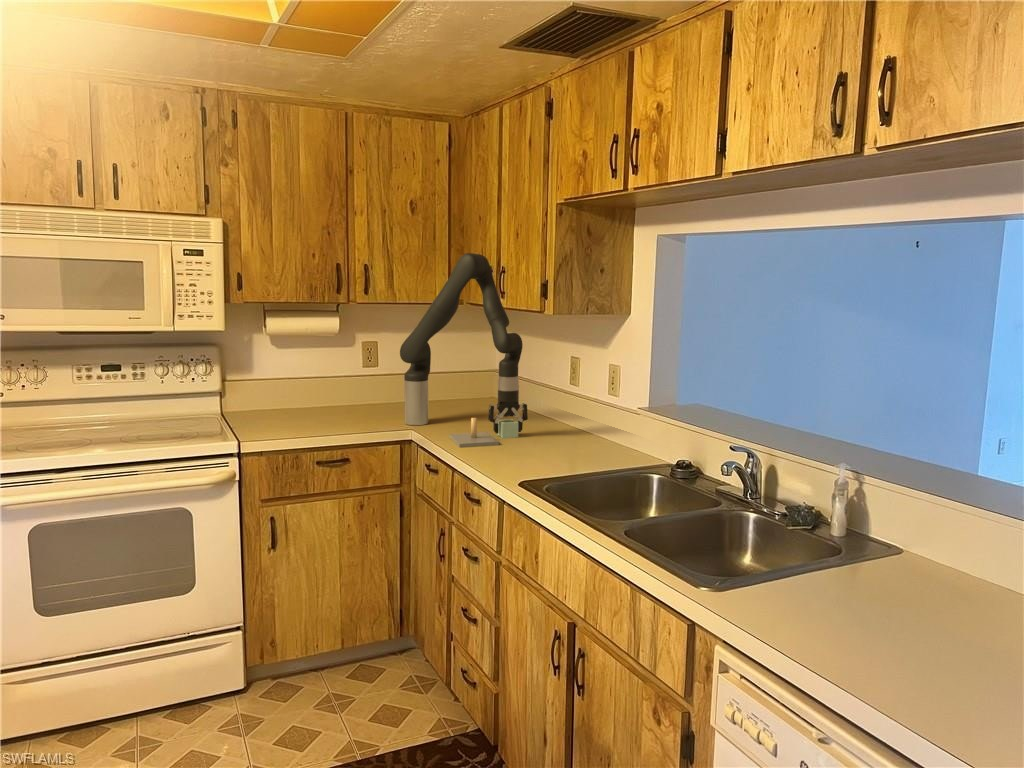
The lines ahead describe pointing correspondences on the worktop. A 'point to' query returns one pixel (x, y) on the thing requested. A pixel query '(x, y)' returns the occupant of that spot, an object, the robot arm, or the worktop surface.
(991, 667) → the worktop surface
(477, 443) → the board
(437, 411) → the worktop surface
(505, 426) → the collar
